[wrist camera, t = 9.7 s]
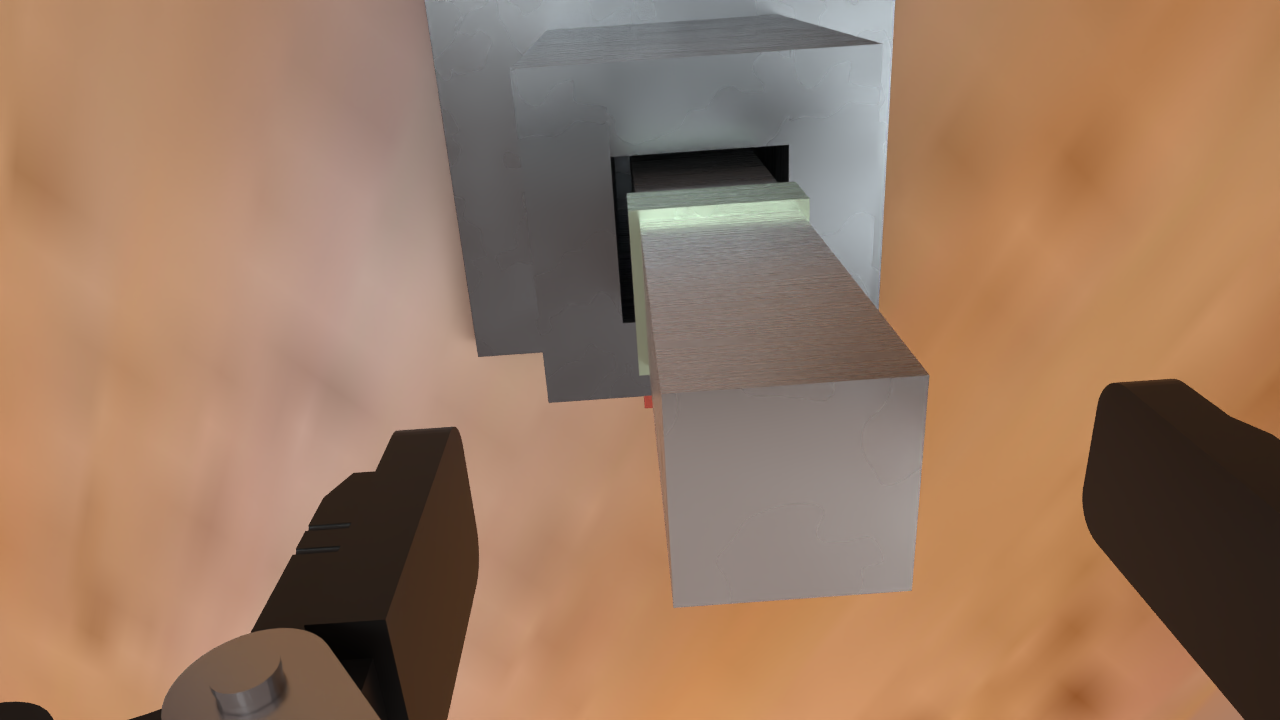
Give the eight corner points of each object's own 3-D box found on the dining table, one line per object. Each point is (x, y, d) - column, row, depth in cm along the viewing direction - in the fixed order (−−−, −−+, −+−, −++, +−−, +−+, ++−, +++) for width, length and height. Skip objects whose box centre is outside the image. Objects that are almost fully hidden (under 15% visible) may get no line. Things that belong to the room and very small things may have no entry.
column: (734, 111, 26) (947, 358, 10) (736, 222, 28) (926, 602, 11) (620, 119, 26) (641, 378, 10) (628, 230, 28) (658, 621, 11)
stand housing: (888, -122, 30) (1097, -187, 17) (867, 315, 36) (1007, 503, 24) (419, -91, 30) (278, -132, 17) (483, 342, 36) (416, 545, 24)
